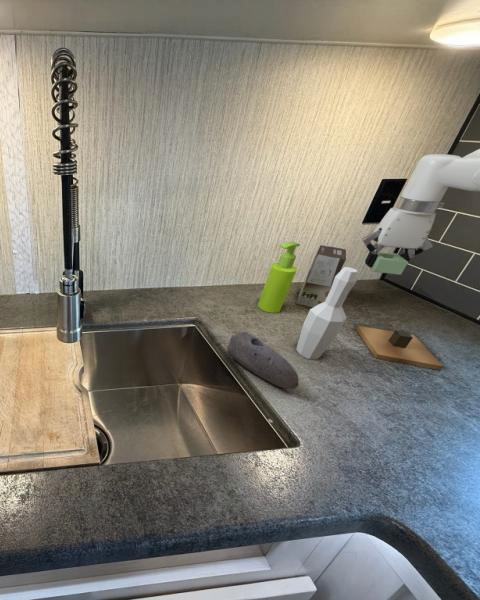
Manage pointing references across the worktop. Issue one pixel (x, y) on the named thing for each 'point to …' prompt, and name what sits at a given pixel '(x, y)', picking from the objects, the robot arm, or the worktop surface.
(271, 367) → the perforated stone tool
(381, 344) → the base pad
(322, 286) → the coffee box
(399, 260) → the sage block
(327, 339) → the faceted bottle
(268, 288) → the soap dispenser
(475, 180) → the robot arm
